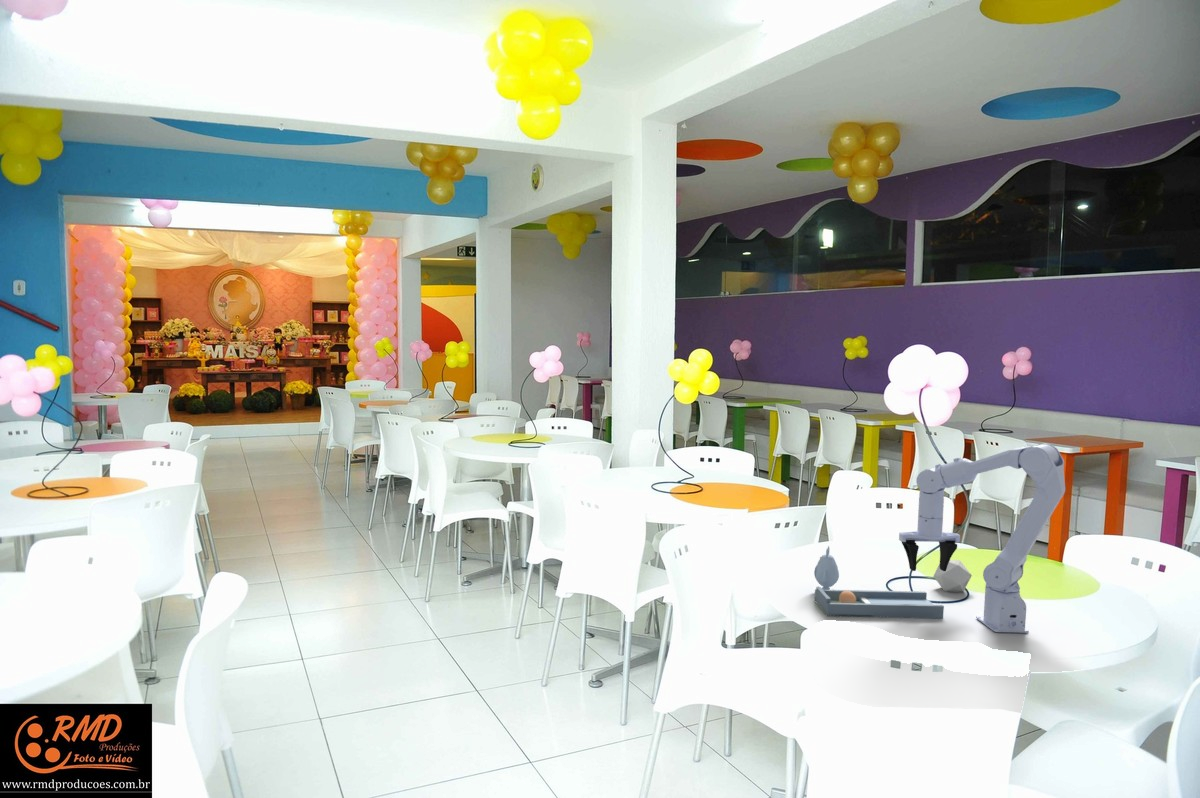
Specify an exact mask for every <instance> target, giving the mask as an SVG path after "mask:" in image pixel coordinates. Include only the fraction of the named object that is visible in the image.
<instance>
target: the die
mask: <svg viewBox="0 0 1200 798" xmlns="http://www.w3.org/2000/svg"><path fill="white" fill-rule="evenodd" d="M972 577H973V576H972V574H971V572H970V571H969V569H968V568H967V567H966V565H964V563H963V562H962V561H961V560H957V559H956V560H955V559H952V560H951V559H950V561H949V563H948V566H947V569H946V571H942V570H941V569H940V563H939V565H937V568H936V570H935V572H934V574H933V578H934V579H935V581H936V582H937V583H938V585H939V586H940V588H942V590H943V591H944V592H954V591H965V589H966V588H967V586H968V584H969V582H970V580H971V578H972Z"/></svg>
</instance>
